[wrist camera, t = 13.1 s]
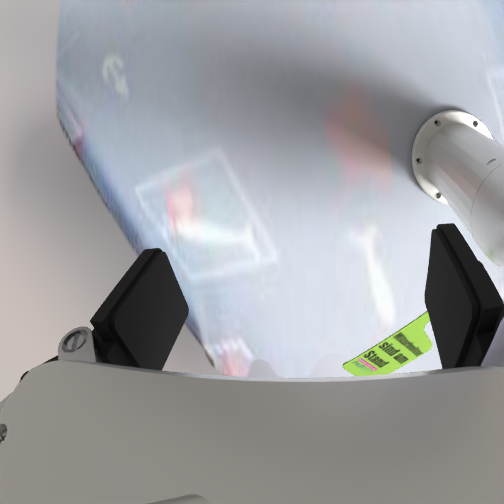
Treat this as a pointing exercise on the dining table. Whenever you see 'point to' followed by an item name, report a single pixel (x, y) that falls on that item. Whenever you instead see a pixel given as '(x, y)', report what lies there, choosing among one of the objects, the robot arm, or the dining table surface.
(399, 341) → the door hanger
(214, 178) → the dining table surface
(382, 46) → the dining table surface
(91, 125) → the dining table surface
